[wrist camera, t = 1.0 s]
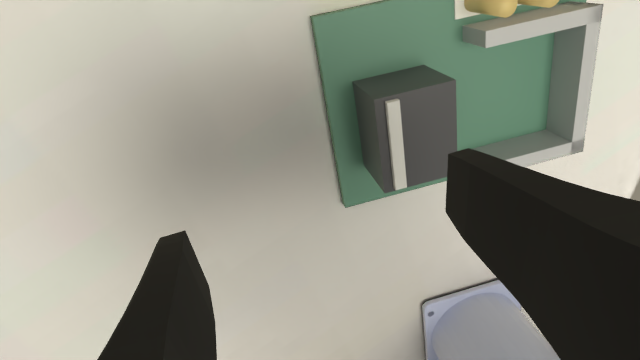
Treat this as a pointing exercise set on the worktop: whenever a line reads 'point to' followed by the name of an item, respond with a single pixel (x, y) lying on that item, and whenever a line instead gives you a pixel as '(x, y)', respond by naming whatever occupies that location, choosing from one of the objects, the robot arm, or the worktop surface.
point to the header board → (466, 74)
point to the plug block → (406, 125)
